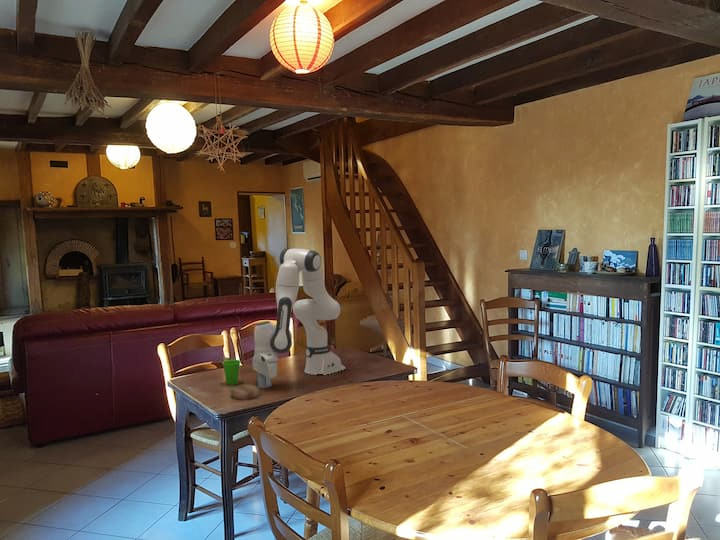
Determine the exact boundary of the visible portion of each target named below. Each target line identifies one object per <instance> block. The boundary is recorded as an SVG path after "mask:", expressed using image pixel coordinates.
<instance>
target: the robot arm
mask: <svg viewBox="0 0 720 540" xmlns="http://www.w3.org/2000/svg"><path fill="white" fill-rule="evenodd" d="M279 264H280V265H279V268H278V272H277V276H276V280H275V281H276V283H275V300H276V306H277V307H276V309H277V310H276V311H277V312H276V313H277V314H276V315H277V317H276V321H275V322H276V323H275V324H274V323H272V322H271V321H269V320H267V321H261V322H258V323H257V324H256V325H255V327H254V330H253V331H254V334H253V335H254V336H253V337H254V338H253V340H254V341H253V342H254V354H253V357H252V369H253V370H254V371H255V372H257V374H258V375H257V376H260V375H265V376H266V381H265V384H267V385H269V384H270V379H271V378H272V379H273V378H276V377H277V376H278V363H277V362H278V360H279V359H278V355H276V353H277V354H285V353H287V352H289V350H290V349H291V348H292V344H293V341H292V340H293V339H292V338H293V336H292V332H291V330H290V325H291V318H292V317H291V316H292V313H293V315H294V317H295V318H296V319H298V320H299V321H300V323H301V324H302V325H303V328H304V330H305V335H306V345H305V355H306V360H305V361H306V362H305V368H304V370H303V372H304V373H305V374H308V375H313V376H314V375H315V376H316V375H317V374H323V375H322V376H328V375H327V374H329V375H331V373H332V374H335V373H338V371H339V372H341V370H342V371H344V369H345V370H346V366H344V365H343V364H342V361H341V358H340V357H339V356H338V355H336V354H335V353H334V352H333V351H331V350H334V349H335V346H334V345H329V344H328V330H327V329H326V328H325V327H324V326H322V325H320V324H319V323H318V321H331V320H335V319H338V318H339V316H340V314H341V305H340V304H339V302H338V301H337V300H336V299H334V298H332V296H331V295H330V294H329V293H328V291H327V288H326V285H325V280H324V273H323V267H322V257H321V255H320V253H319V252H317V250H311V249H310V250H309V249H306V248H293V247H288V248H287V247H286V248H284V249H283V250H282V251H281V252H280V255H279ZM300 272H301V279H302V280H301V282H302V289H303V291H304V293H305V294H306V295H307V296H309V297H311V298H312V299H311V298H305V299H298V300H297V298H298V294H299V293H298V292H299V290H300V289H299V287H300ZM334 372H335V373H334Z"/></svg>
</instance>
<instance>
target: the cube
mask: <svg viewBox="0 0 720 540" xmlns="http://www.w3.org/2000/svg"><path fill="white" fill-rule="evenodd" d="M272 379H273V378H271V379H270V384H269V385H267V384H265V381H266V376H265V375H260V376H259V375H257V386H259V387H260V389H266V387H267V388H271V386H272V387H273V384H272V382H273V381H272Z"/></svg>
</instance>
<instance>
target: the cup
mask: <svg viewBox="0 0 720 540" xmlns="http://www.w3.org/2000/svg"><path fill="white" fill-rule="evenodd" d="M241 363H242V362H241V360H239V359H227V360H224V361H222V362H221V364H222V365H223V370H224V377H225V382H226V385H227V384H228V385H227V386H235V385H237V384H238V381H239V373H240V366H241Z"/></svg>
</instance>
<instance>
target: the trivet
mask: <svg viewBox="0 0 720 540" xmlns="http://www.w3.org/2000/svg"><path fill="white" fill-rule="evenodd" d="M260 395H261V387H259V386H258V384H257V385H256V384H241V385H237V386H234V387H232V388H231V389H230V396H231V399H234V400H238V401H246V400H247V399H248V400H253V399H256V398H258V397H259V396H260ZM252 398H253V399H252ZM248 400H247V401H248Z"/></svg>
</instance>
